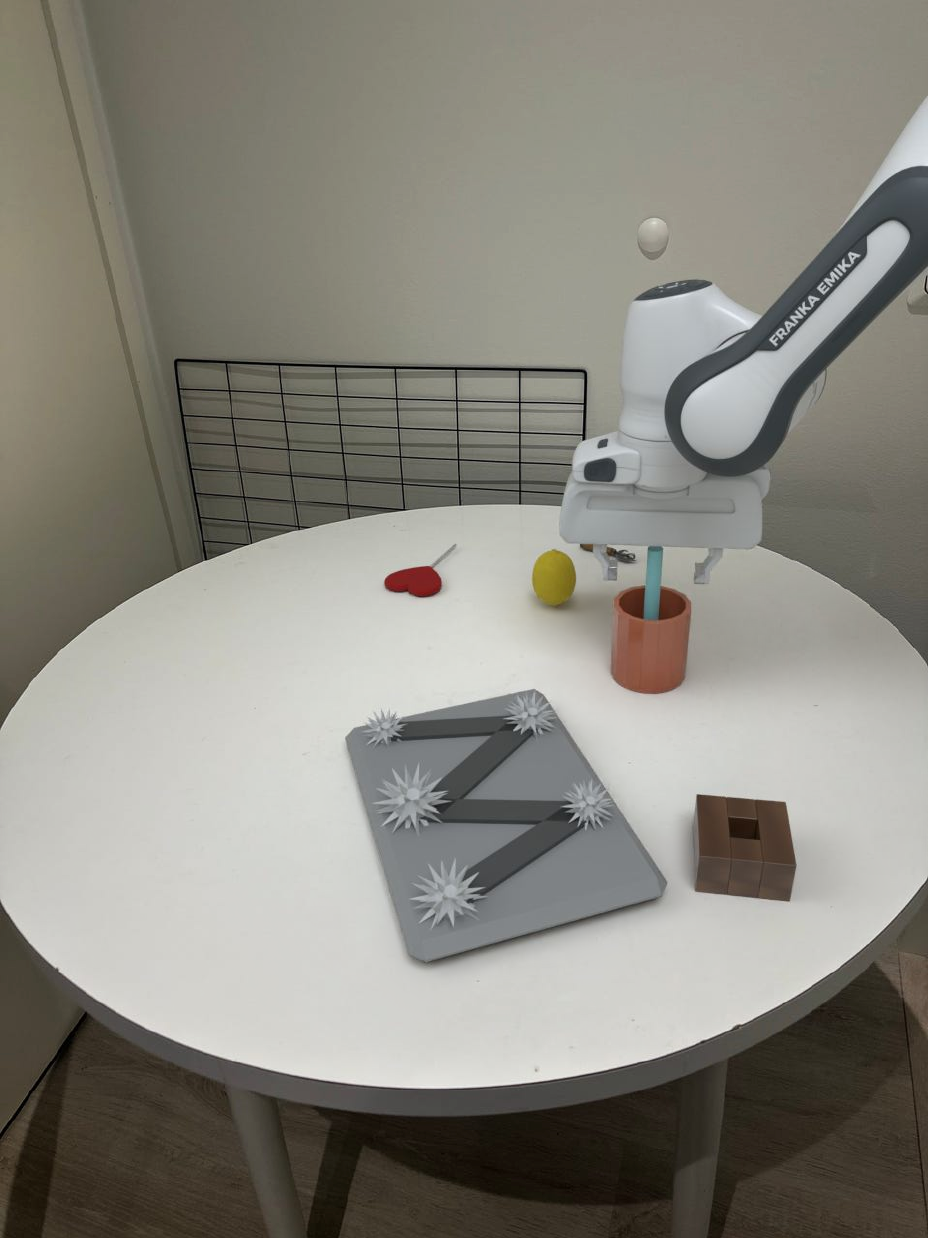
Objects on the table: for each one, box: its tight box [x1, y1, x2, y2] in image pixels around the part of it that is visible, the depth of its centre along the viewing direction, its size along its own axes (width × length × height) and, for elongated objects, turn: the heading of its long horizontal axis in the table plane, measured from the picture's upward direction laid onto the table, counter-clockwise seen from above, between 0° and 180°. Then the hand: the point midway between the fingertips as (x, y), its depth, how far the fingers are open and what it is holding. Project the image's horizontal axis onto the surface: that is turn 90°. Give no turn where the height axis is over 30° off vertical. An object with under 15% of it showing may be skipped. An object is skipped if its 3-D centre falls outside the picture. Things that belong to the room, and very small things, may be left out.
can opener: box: [579, 544, 637, 562], centre depth 126 cm, size 9×2×1 cm, turn 49°
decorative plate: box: [345, 688, 668, 963], centre depth 80 cm, size 30×22×7 cm
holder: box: [692, 793, 798, 902], centre depth 75 cm, size 7×7×4 cm
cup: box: [610, 584, 693, 695], centre depth 98 cm, size 8×8×9 cm
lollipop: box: [383, 543, 457, 597], centre depth 125 cm, size 8×1×15 cm
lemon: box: [531, 548, 577, 607], centre depth 113 cm, size 6×6×8 cm
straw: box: [643, 546, 664, 620], centre depth 97 cm, size 2×2×15 cm
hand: (655, 580), depth 95 cm, fingers open, 8 cm apart
